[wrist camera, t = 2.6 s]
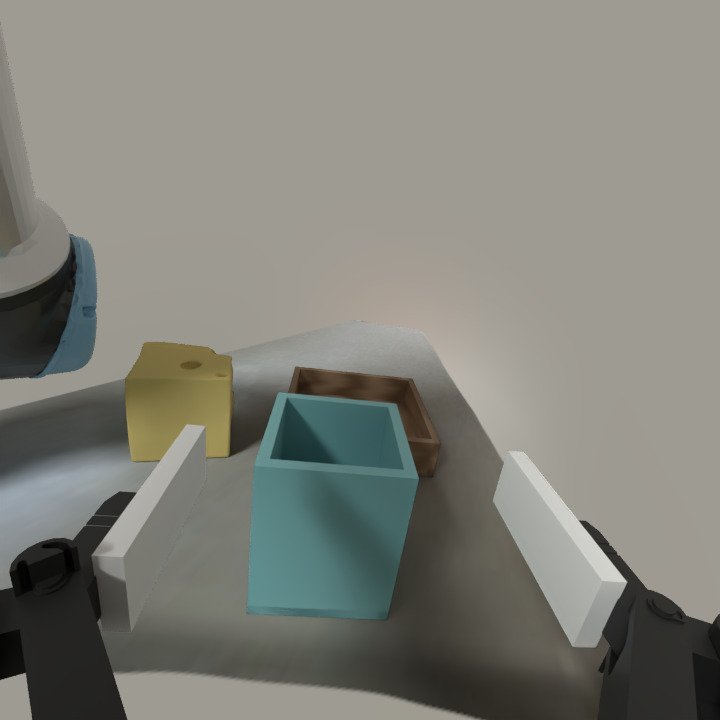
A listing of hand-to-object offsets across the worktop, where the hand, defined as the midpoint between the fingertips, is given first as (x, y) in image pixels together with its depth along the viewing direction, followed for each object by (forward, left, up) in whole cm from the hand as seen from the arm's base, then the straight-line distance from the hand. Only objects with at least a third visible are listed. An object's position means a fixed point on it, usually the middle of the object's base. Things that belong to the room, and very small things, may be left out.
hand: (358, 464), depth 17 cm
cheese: (-30, +11, -17) cm, 36 cm away
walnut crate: (-17, +27, -17) cm, 36 cm away
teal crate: (-7, +8, -17) cm, 20 cm away
